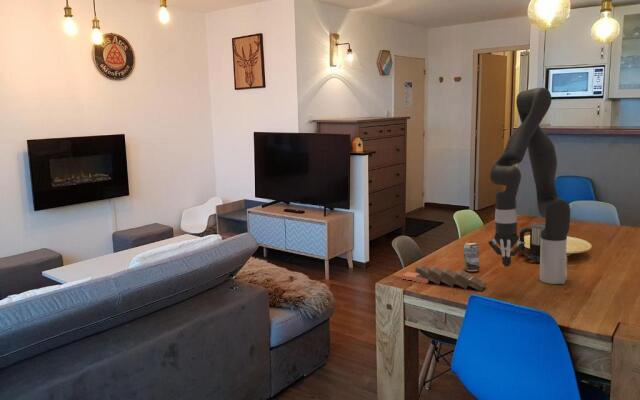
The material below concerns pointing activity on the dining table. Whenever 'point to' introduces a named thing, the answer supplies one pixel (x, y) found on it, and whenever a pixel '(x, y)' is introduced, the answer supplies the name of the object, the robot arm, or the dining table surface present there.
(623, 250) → the dining table surface
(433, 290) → the dining table surface
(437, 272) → the tile
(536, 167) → the robot arm
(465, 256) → the beverage can
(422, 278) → the end tile
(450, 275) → the tile
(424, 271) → the tile
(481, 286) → the tile
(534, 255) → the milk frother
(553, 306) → the dining table surface
